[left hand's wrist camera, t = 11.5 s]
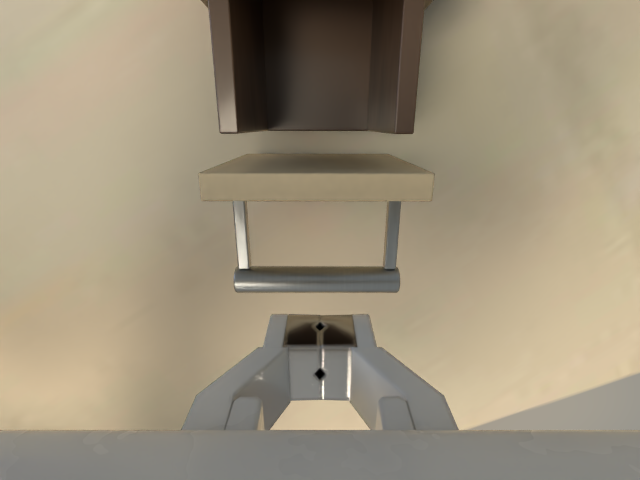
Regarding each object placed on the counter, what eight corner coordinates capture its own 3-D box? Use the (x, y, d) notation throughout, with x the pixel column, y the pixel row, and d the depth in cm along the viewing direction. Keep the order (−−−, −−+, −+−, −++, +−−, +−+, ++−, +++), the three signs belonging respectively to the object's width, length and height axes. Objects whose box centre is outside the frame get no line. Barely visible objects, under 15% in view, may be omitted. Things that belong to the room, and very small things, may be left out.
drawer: (382, 246, 26) (419, 316, 16) (252, 245, 26) (213, 316, 16) (409, -165, 18) (507, -477, 9) (225, -166, 18) (123, -480, 9)
